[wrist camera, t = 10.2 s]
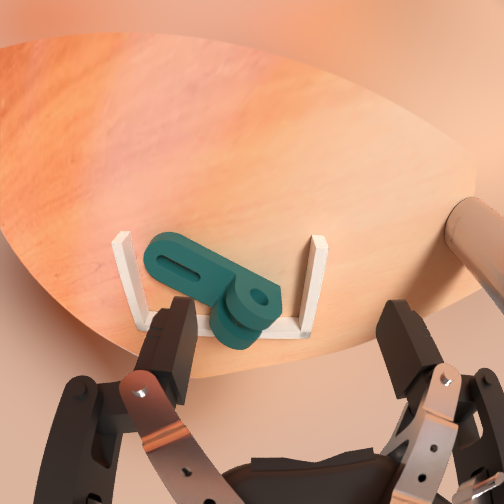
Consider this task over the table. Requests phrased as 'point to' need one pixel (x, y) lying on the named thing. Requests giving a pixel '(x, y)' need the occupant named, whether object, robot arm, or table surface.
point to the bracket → (216, 288)
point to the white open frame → (144, 316)
